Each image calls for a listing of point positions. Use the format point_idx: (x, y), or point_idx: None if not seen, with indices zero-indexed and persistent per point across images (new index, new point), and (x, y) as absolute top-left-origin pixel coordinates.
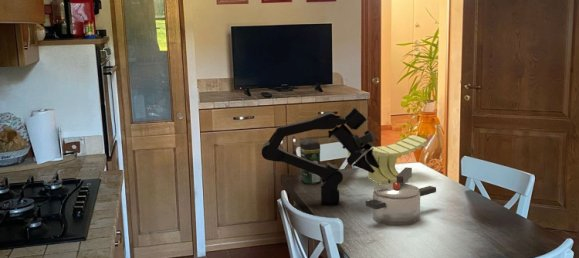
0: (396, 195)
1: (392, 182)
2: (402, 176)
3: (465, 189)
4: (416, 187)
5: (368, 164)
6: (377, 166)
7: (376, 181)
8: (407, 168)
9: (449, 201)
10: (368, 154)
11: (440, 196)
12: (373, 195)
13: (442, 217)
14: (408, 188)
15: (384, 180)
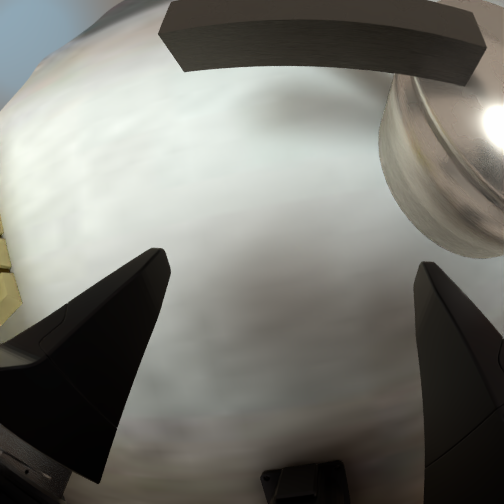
0: None
1: (6, 258)
2: (471, 15)
3: (70, 43)
4: (451, 2)
5: (502, 344)
6: (161, 270)
7: (2, 319)
8: (194, 12)
9: None
10: (45, 417)
11: (131, 64)
12: None
13: None
14: (491, 34)
15: (5, 286)
